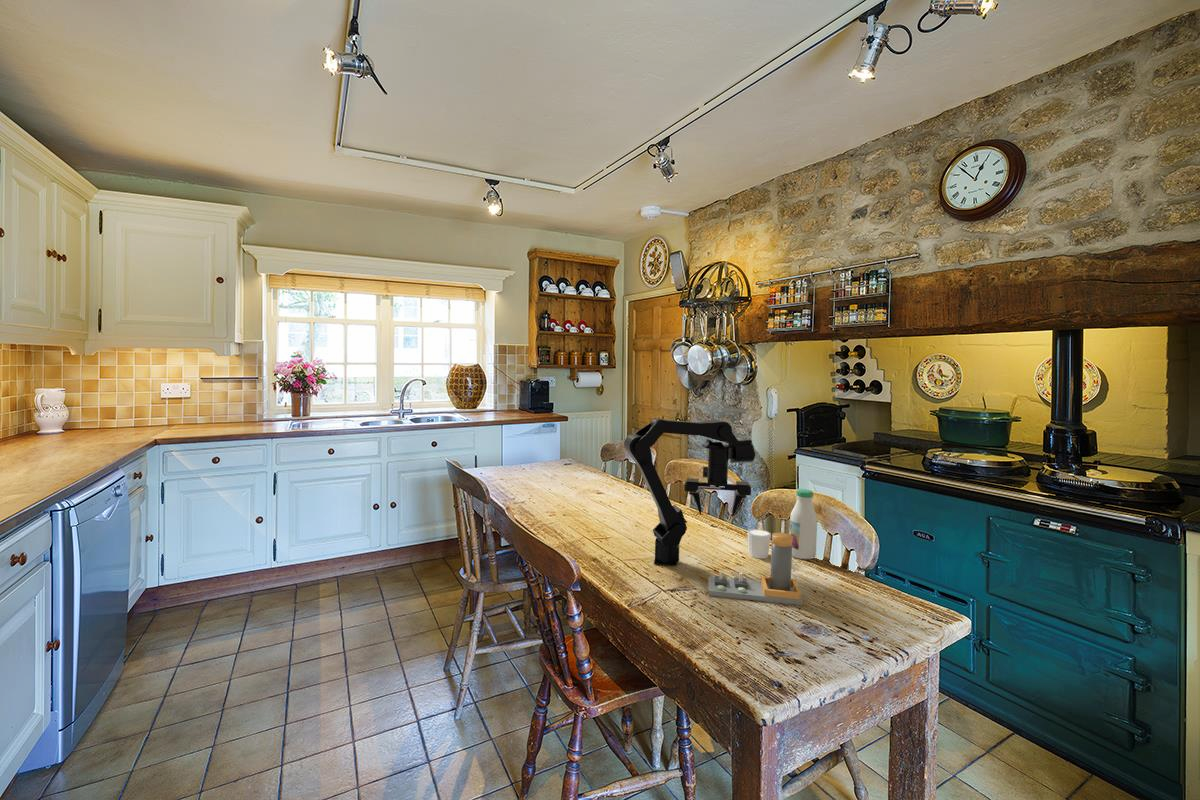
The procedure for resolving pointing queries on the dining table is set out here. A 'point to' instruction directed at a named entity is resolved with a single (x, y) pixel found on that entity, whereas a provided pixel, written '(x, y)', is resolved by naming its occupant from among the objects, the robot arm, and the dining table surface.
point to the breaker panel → (752, 589)
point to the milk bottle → (803, 526)
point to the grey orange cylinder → (781, 561)
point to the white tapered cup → (758, 543)
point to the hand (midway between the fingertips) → (716, 515)
